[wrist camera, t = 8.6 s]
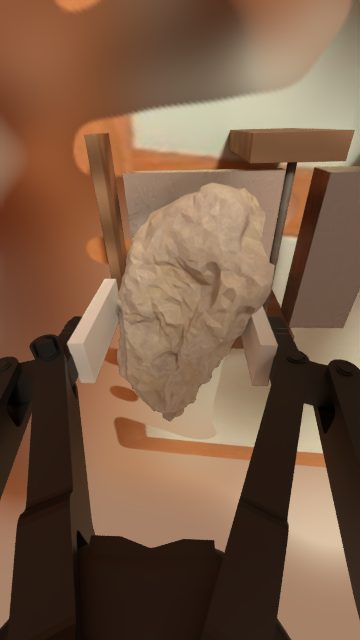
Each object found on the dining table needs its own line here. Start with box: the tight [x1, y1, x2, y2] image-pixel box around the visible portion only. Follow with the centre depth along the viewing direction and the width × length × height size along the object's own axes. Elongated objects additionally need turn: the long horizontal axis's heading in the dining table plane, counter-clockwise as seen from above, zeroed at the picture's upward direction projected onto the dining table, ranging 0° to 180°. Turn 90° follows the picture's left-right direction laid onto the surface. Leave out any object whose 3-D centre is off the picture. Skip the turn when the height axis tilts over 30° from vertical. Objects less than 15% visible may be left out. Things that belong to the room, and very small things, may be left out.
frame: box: [84, 128, 355, 349], centre depth 27 cm, size 18×20×13 cm
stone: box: [116, 183, 274, 421], centre depth 15 cm, size 8×12×10 cm, turn 162°
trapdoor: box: [123, 166, 360, 328], centre depth 23 cm, size 13×19×3 cm
